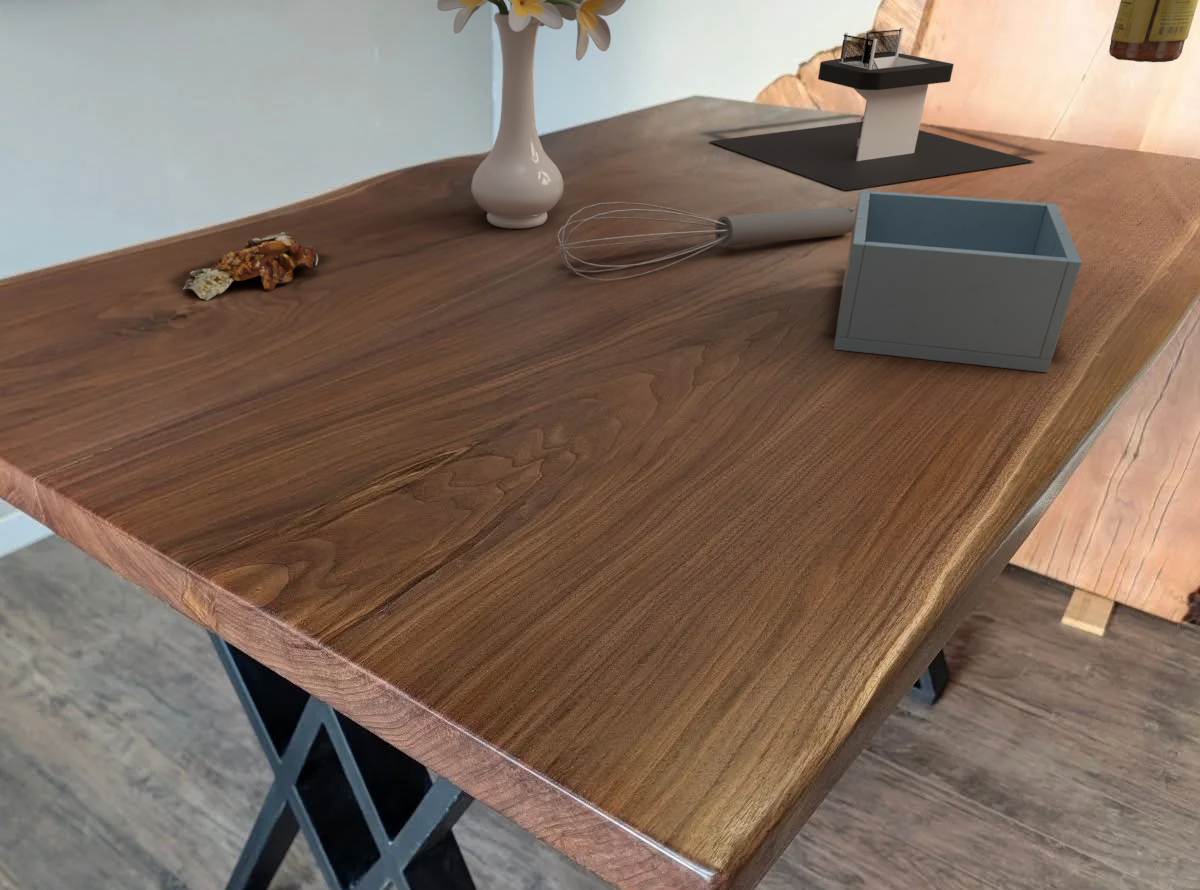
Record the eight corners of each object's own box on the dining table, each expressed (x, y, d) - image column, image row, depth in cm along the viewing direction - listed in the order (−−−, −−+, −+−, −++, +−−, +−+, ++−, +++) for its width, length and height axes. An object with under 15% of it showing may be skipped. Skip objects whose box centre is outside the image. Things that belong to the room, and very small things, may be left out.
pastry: (171, 289, 91) (164, 248, 89) (281, 255, 98) (276, 217, 96) (218, 308, 87) (212, 265, 85) (329, 271, 94) (325, 231, 92)
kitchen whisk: (885, 239, 100) (898, 171, 96) (576, 298, 88) (578, 223, 85) (841, 222, 104) (852, 157, 101) (542, 277, 93) (543, 205, 89)
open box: (1028, 302, 85) (1056, 203, 81) (1047, 373, 74) (1081, 262, 70) (842, 285, 89) (860, 189, 85) (833, 349, 78) (853, 243, 74)
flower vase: (581, 251, 98) (593, -54, 84) (414, 225, 106) (400, -59, 92) (632, 215, 108) (651, -65, 94) (476, 194, 115) (472, -68, 101)
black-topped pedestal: (879, 120, 143) (899, 12, 136) (1034, 162, 123) (1068, 38, 116) (707, 142, 134) (719, 27, 127) (845, 191, 114) (868, 58, 107)
